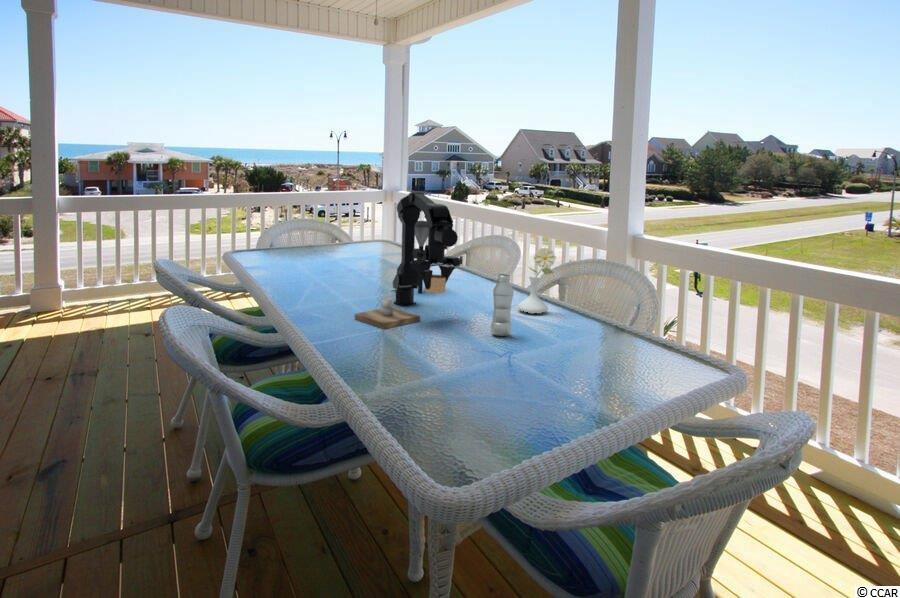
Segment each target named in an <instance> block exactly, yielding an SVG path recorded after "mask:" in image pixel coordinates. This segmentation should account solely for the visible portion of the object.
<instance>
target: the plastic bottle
mask: <svg viewBox="0 0 900 598" xmlns="http://www.w3.org/2000/svg"><path fill="white" fill-rule="evenodd" d="M510 281H511V274H507V273H499V274H498V275H497V284H495V286H494V287H493V290H492V291H493V293H492V295H493V312H492V313H493V315H492V320H491V325H490V332H491V334H492V335H493V336H498V337H506V336H509V335H510V334H511V331H512V321H511V319H512V318H511V317H512V316H511V315H512V313H511V311H512V309H511V308H512V302H513V299H514V298H513V297H514V293H515V291H514V288H513V286H512V284H511V283H510Z"/></svg>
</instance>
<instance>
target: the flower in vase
mask: <svg viewBox="0 0 900 598" xmlns="http://www.w3.org/2000/svg"><path fill="white" fill-rule="evenodd" d="M532 259H533V260H534V262H535V265H537V266H539V267H541V268H540V270H539V272H538V271H537V270H535V269H533V268H531V267H530V266H528V268H529V270H531V271H532V272H535V273H536V274H531V275H527V276H528V279H529V281H530V287H531V288H530V293H529V296H528V297H526V298H525V299H523V300H522V301H521V302H520V303H519V304H518V305H517V309H518V310H519V311H521V312H523V311H524V312H523V313H526V312H528V313H527V314H534V313H537V314H543V313H542V312H544V313H546V312H548V310H549V307H548V305H547V304H546V303H545V302H544V301H543V300H542V299H540V297H539V296H538V286H539V282H540V280H541V279H542V276H541V275H539V274H540V273H541V272H542V273H543V274H544V275H551V274H553V273H554V272H553V270H552V269H550V267H551V266H554V263H555V261H556V259H557V258H556V255H555V253H554V250H553V249H550V248H549V247H545V246H544V247H540V248H539V249H536V251H535V253H534V256H533V258H532Z"/></svg>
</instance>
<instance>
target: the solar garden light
mask: <svg viewBox="0 0 900 598" xmlns="http://www.w3.org/2000/svg"><path fill="white" fill-rule="evenodd" d="M427 225H428V222H427V220H418V221H417V223H416V224H415V239H416V242H417V245H418V249H420V251H421V250H424V247H425V245H426V244H425V243H426V242H427V241H428V228H427ZM423 286H424V281H423V278H422V276H421V274H420V273H419V283H418V288H417V293H418V294H423Z"/></svg>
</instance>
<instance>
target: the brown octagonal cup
mask: <svg viewBox="0 0 900 598" xmlns="http://www.w3.org/2000/svg"><path fill="white" fill-rule="evenodd" d="M446 284H447V282H446V276H443V275H441V274H432V277H431V282H430V287H429V289H426V288H425V287H424V292H426V293H430V294H443V293H446Z"/></svg>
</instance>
